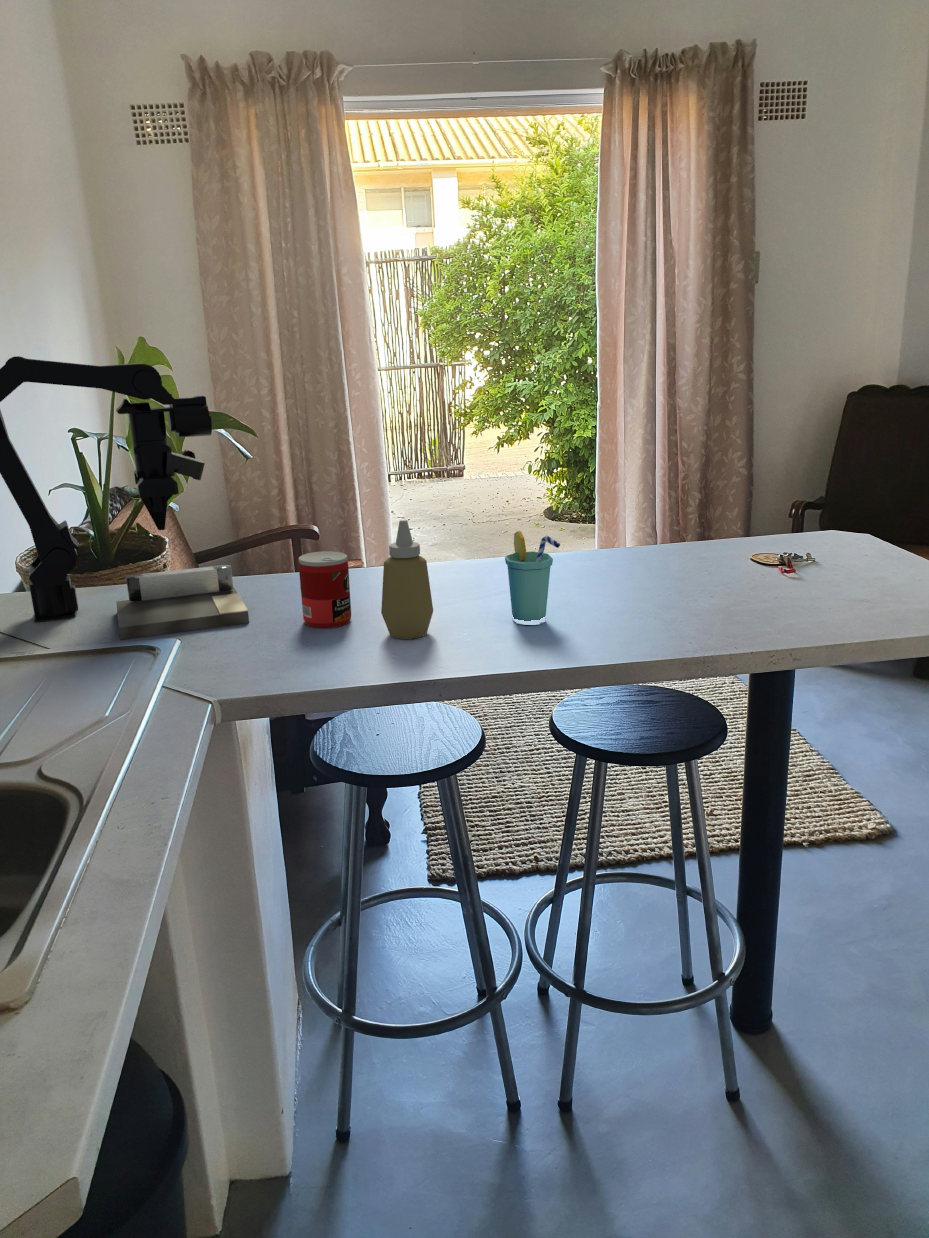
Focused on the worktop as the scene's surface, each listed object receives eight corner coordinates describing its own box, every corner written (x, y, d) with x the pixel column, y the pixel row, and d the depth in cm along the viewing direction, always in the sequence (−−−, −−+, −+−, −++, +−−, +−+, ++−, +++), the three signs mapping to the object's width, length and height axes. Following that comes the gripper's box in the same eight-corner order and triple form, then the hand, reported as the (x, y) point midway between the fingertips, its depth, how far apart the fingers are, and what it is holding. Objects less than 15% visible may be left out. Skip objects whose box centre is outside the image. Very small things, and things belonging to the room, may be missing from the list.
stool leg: (232, 585, 160) (229, 564, 159) (234, 590, 157) (232, 568, 156) (128, 597, 154) (125, 575, 153) (129, 602, 151) (126, 579, 150)
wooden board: (120, 639, 140) (118, 626, 139) (117, 612, 154) (116, 600, 154) (249, 622, 147) (247, 609, 146) (235, 598, 161) (234, 586, 161)
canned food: (343, 629, 142) (338, 563, 139) (296, 627, 144) (290, 561, 141) (358, 615, 150) (354, 551, 146) (313, 613, 151) (308, 550, 148)
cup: (577, 629, 140) (579, 535, 135) (536, 638, 136) (537, 542, 132) (527, 608, 151) (527, 521, 147) (488, 615, 148) (487, 526, 143)
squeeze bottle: (441, 628, 142) (437, 516, 136) (422, 644, 135) (418, 527, 129) (394, 624, 144) (389, 514, 139) (374, 640, 137) (367, 525, 132)
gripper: (204, 441, 147) (214, 534, 152) (193, 432, 163) (202, 516, 168) (132, 446, 143) (145, 541, 148) (128, 435, 159) (140, 521, 164)
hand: (161, 529), depth 157 cm, fingers closed
